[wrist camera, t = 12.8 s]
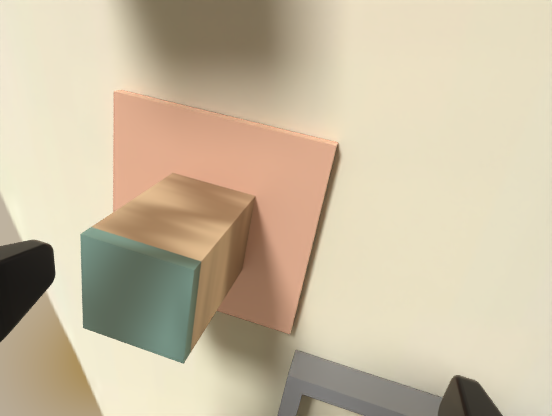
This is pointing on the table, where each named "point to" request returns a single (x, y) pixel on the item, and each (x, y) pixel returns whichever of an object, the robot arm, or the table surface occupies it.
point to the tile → (238, 176)
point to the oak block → (164, 264)
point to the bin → (351, 390)
